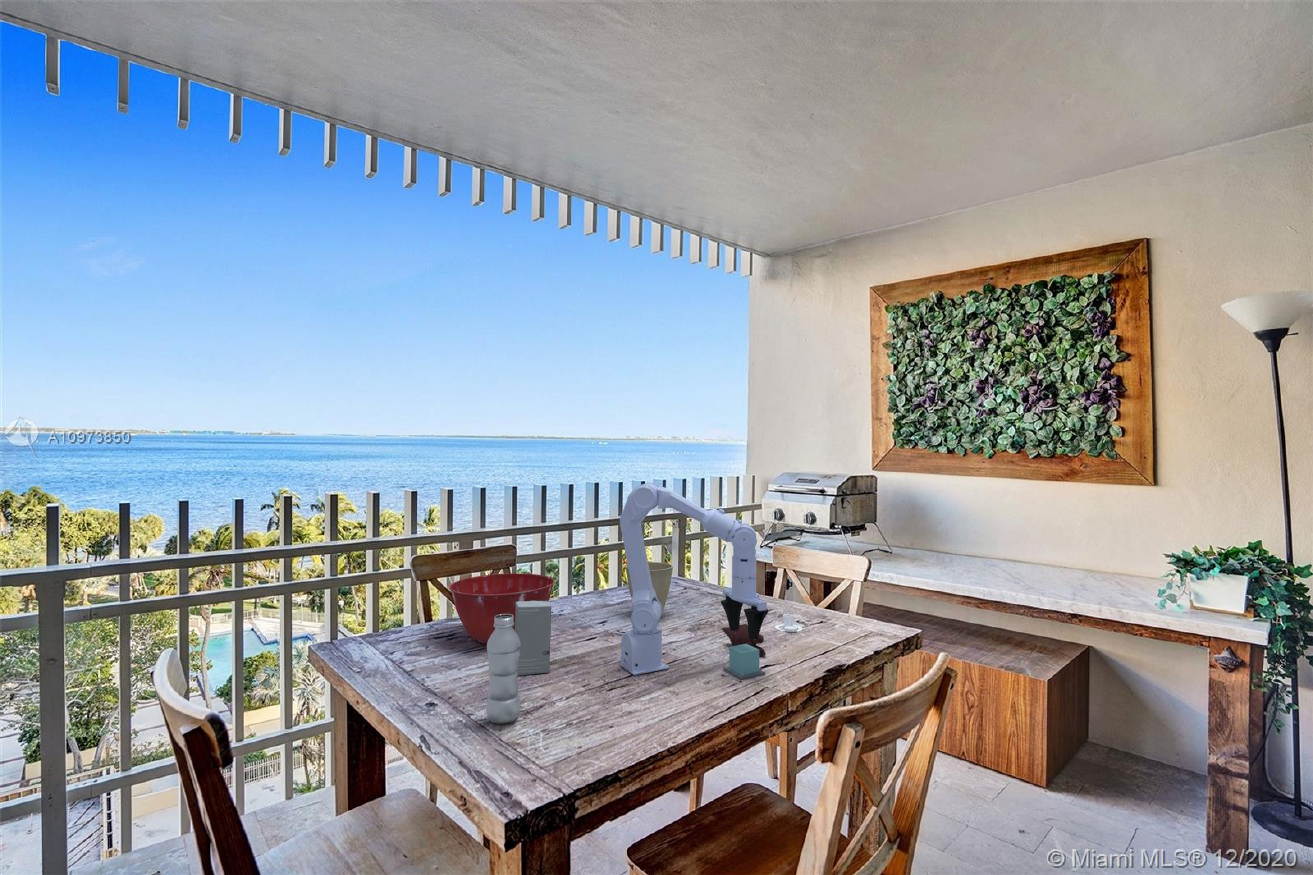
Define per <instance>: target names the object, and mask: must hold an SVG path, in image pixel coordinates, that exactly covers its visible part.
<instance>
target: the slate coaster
mask: <svg viewBox="0 0 1313 875" xmlns="http://www.w3.org/2000/svg"><path fill="white" fill-rule="evenodd" d="M722 669H723V671H724V672H725V673H727V674H729V675H731V676H733V677H735V678H736V679H738V680H740V681H742V680H747V679H751V678H756V677H761V676H765V675H766V671H765V670H762V669H761V668H759V672H754V673H749V674H744V675H741V674H739V673H737V672H736V671H734V670H732V669H730V668H729V666H725V667H723V668H722Z"/></svg>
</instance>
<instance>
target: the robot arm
mask: <svg viewBox="0 0 1313 875" xmlns="http://www.w3.org/2000/svg"><path fill="white" fill-rule="evenodd" d="M656 507H657V509H673V510H675V511H677V512H679V513H681V514H683V515H685V516H686V517H687V516H688V517H689V518H691V519H694V520H696V521H698V522H700V523H701V526H702V529H703V531H704V532H706V533H709V534H710V535H712V536H714V537H716V538H718V539H720V540H722V541H724V542H725V543H731V545H732V546H733V547H732V550H733V552H732V556H731V588H723V590H722V596H723V598H724V599H722V600H720V605H721V606H722V608H723V610H724V612H725V615H726V618H727V623H728V627H729V628H730V630H731V631H734V630H739V625H741V624H740V623H741V611H742V608H743V605H746V606H749V607H750V608H743V612H744V616H745V618H746V622H747V625H748V635H749V639H751V640H753V639H758V637H759V634H760V632H761V628H762V625H763V622H764V620H765V619H766V617H767V615H768V614H769V609H768V607H767V606H768V604H767V601H766V600H764V599H763V598H761V597H760V594H759V593H758V592H757V557H756V554H757V549H756V546H757V543H758V538H757V532H756V531H755V529H754V528H753V527H752V526H751V525H749V523H745V522H744V523H743V520H741V519H739V518H738V519H735V518H734V517H732V516H729V515H728V514H725V510H724V509H722V508H719V509H716V508H712V509H708V510H707V509H706V508H703V507H701V506H700V505H698V504H696V503H694V502H693V501H691V500H689V499H687V498H686V497H684V496H682V495H681V494H678V493H677V492H675V491H673V490H671V489H669V488H667V487H665V486H664V487H663V486H659V485H658V484H657V483H654V482H646V483H644V484H639V485H637V486H636V487H635V488H633V490H632V491H631V492H630V493H629V494H628V495H627V498H626V502H625V505H624V507H623V510H622V512H621V515H620V517H619V523H620V531H621V536H622V541H623V547H624V552H625V558H626V563H627V564H626V565H628V569H629V574H630V580H631V585H632V591H633V596H632V599H631V604H632V613H631V615H630V623H631V625H632V627H631V630H630V631H627V632H625V633H623V634H622V636H621V641H620V642H621V643H620V644H621V645H620V646H621V647H620V648H621V652H620V654H621V656H620V660H621V662H620V663H619V665H620V666H621V667H622V668H624V669H625V670H626V671H627V672H629V673H630V674H631V675H633V676H637V675H641V674H646V673H652V672H658V671H662V670H669V669H670V668H669V667H670V666H669V665H668V664H666V663H664V662H663V650H662V649H663V627H662V625H661V624H660V622H659V620H660V619H661V617H662V616H663V612H664V610H663V609H662V605H661V603H660V602H659V601H658V599H657V597H656V592H655V590H654V588H653V586H652V581H651V576H650V570H649V565H648V562H649V560H648V556H647V550H646V545H645V539H644V533H643V529H642V523H643V521H644V520H645V518H646V516H648V514H649V513H650V512H651V511H653V509H655V508H656Z"/></svg>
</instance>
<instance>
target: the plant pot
mask: <svg viewBox="0 0 1313 875" xmlns="http://www.w3.org/2000/svg"><path fill="white" fill-rule="evenodd" d="M648 565H649V570H650V576H651V581H652V586H653V588H654V590H655V592H656V597H657V599H658V601H659V602H660V603H661V605H662V609H663V611H664V609H665V606H666V603H667V600H668V596H669V591H670V587H671V582H672V576H673V568H674V565H672V564H671V563H666V562H660V561H659V562H658V561H648ZM625 572H626V580H627V585H628V589H629V590H628V591H629V595H630V598H631V600H632V596H633V591H632V585H631V580H630V574H629V569H628V564H626V565H625Z"/></svg>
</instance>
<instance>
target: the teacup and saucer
mask: <svg viewBox="0 0 1313 875" xmlns="http://www.w3.org/2000/svg"><path fill="white" fill-rule="evenodd" d="M794 620H795V616H794V615H793V614H790V613H785V614H783V615H782V622H783V623H781V624H776V625H775V626H774V628H775V629H776V630H777V631H780V632H785V633H786V632H787V633H798V632H801V631H802V630H803V627H802V626H800V625H799V624H794ZM780 627H783V629H781V628H780Z"/></svg>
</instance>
